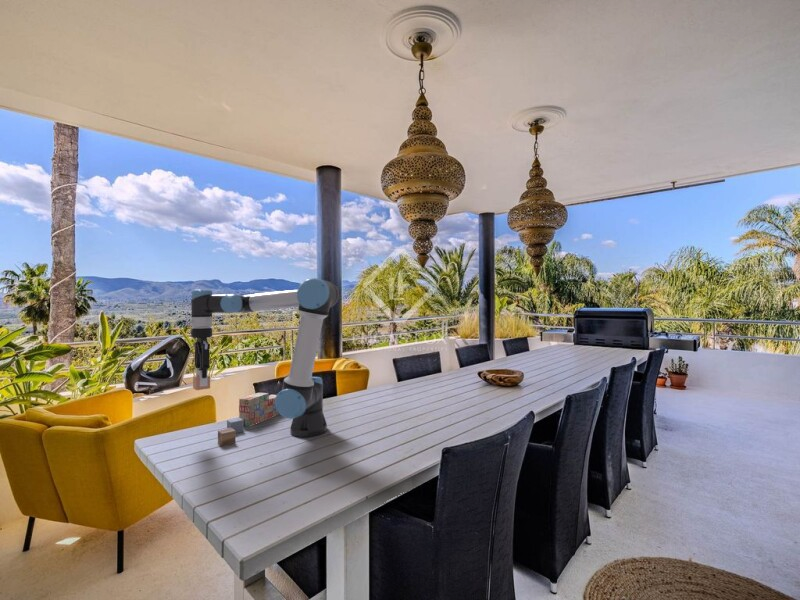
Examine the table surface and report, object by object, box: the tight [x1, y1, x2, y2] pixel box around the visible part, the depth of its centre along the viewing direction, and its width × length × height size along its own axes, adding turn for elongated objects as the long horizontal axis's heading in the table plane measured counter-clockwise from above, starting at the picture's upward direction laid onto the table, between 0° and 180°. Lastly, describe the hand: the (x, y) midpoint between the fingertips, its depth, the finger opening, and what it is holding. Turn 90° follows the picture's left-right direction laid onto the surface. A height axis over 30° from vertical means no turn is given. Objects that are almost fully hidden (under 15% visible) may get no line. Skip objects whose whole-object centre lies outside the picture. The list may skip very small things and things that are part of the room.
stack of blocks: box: [238, 392, 280, 427], centre depth 171 cm, size 21×6×12 cm, turn 159°
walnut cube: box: [217, 427, 237, 447], centre depth 140 cm, size 5×5×5 cm
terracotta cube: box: [192, 374, 211, 391], centre depth 146 cm, size 5×5×5 cm
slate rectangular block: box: [226, 417, 244, 434], centre depth 154 cm, size 5×5×5 cm
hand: (201, 384), depth 146 cm, fingers closed on terracotta cube, 5 cm apart
